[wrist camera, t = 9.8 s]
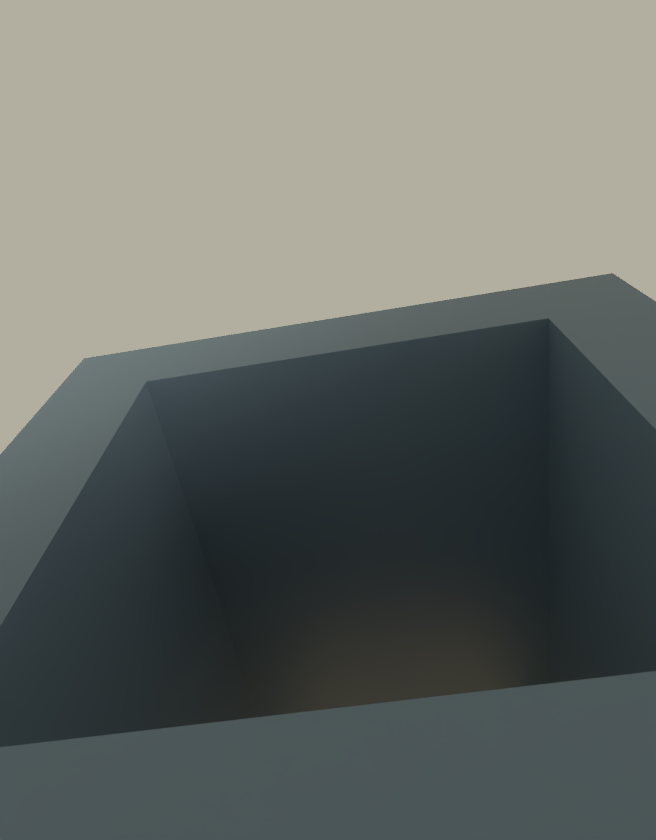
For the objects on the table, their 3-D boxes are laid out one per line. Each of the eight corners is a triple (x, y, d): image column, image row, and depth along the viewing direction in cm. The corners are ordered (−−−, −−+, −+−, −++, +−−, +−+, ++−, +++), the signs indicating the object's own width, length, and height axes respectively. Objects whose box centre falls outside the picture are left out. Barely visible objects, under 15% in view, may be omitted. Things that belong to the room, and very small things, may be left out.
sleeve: (861, 1393, 7) (1590, 914, 2) (160, 1416, 8) (-550, 1088, 3) (590, 734, 15) (612, 273, 10) (239, 772, 15) (84, 358, 10)
